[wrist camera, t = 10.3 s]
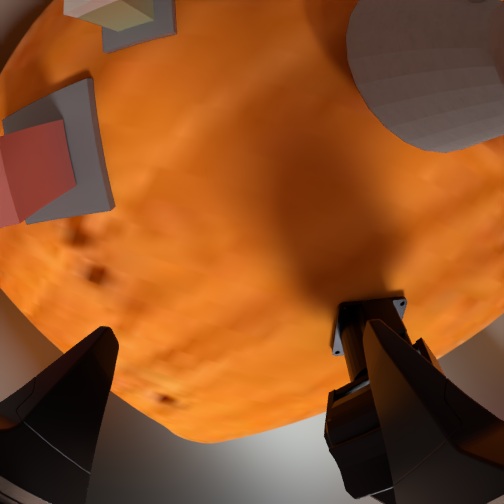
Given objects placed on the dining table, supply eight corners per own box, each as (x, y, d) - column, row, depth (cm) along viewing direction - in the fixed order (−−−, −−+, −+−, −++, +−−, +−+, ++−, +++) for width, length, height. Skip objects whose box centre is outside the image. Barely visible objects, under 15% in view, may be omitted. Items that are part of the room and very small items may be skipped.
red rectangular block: (76, 185, 18) (20, 223, 12) (33, 197, 18) (-19, 232, 13) (62, 119, 15) (-2, 137, 10) (20, 138, 16) (-39, 161, 10)
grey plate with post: (115, 206, 20) (65, 252, 14) (31, 221, 21) (-17, 259, 14) (92, 78, 15) (26, 80, 9) (8, 118, 16) (-50, 137, 10)
